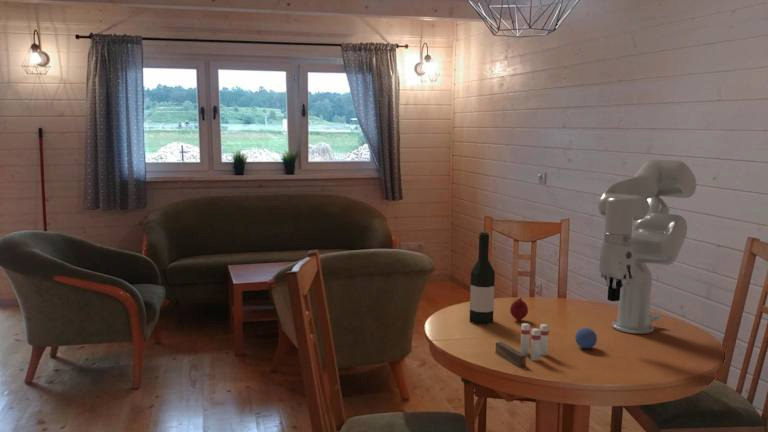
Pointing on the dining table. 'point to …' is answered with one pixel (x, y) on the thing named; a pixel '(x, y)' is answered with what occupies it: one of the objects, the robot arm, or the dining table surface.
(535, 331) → the pin
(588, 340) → the ball
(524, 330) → the pin
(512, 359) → the wall
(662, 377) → the dining table surface
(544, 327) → the pin front
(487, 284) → the wine bottle
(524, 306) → the onion
